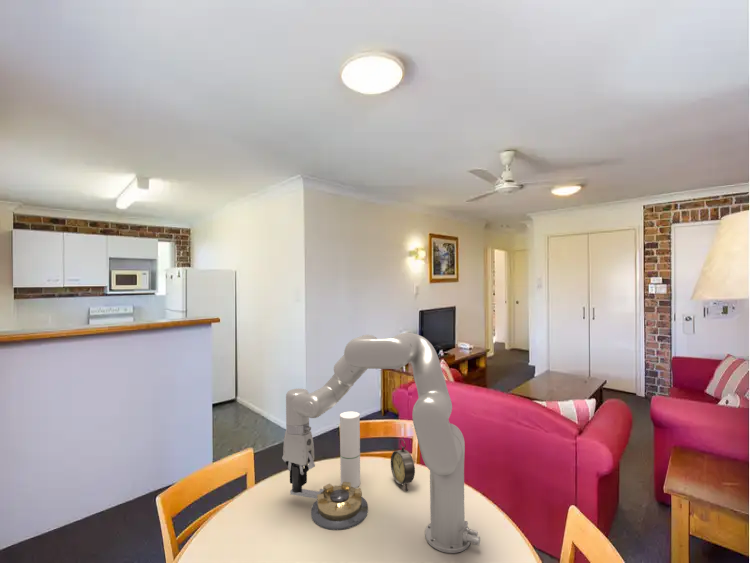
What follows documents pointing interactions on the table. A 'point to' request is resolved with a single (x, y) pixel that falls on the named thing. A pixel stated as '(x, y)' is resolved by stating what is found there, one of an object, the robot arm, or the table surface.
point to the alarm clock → (402, 466)
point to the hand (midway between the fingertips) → (298, 482)
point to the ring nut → (330, 498)
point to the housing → (339, 523)
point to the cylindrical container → (350, 448)
